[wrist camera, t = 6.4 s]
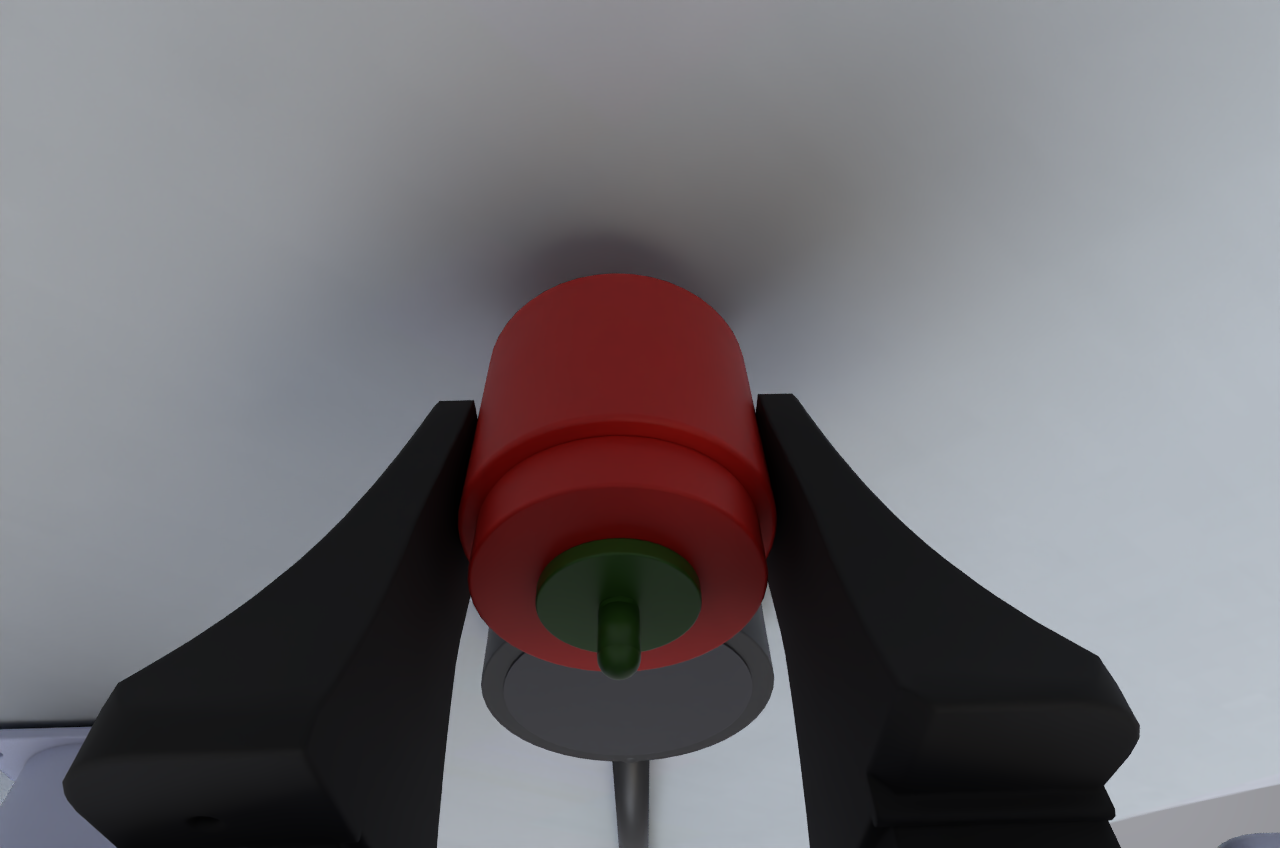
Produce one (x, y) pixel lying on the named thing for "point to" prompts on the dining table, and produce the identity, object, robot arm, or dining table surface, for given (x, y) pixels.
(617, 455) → the pepper
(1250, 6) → the dining table surface
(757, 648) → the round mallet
